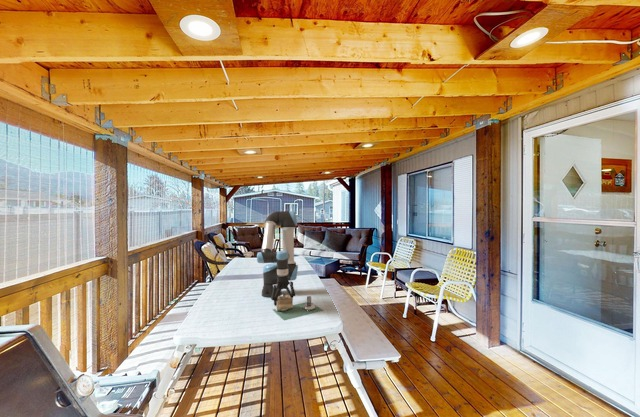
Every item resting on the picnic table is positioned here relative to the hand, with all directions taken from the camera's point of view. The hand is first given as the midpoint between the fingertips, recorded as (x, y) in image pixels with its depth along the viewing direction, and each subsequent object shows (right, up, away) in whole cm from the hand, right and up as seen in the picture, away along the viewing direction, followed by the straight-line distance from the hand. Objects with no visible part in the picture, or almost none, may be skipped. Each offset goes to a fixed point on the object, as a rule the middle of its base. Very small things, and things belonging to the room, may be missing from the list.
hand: (283, 308), depth 191 cm
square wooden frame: (0, +1, 0) cm, 1 cm away
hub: (+17, 0, +1) cm, 17 cm away
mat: (+9, -1, -1) cm, 10 cm away
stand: (0, -1, 0) cm, 1 cm away
